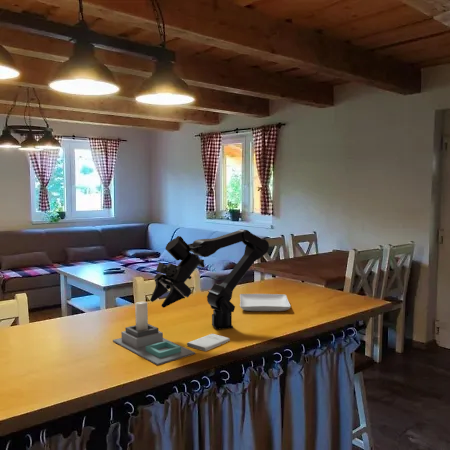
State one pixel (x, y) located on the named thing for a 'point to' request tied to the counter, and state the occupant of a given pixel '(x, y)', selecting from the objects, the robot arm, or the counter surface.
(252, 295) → the salad plate
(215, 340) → the external hard drive
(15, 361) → the counter surface
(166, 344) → the grey peg insertion board
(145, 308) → the plug
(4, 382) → the counter surface
